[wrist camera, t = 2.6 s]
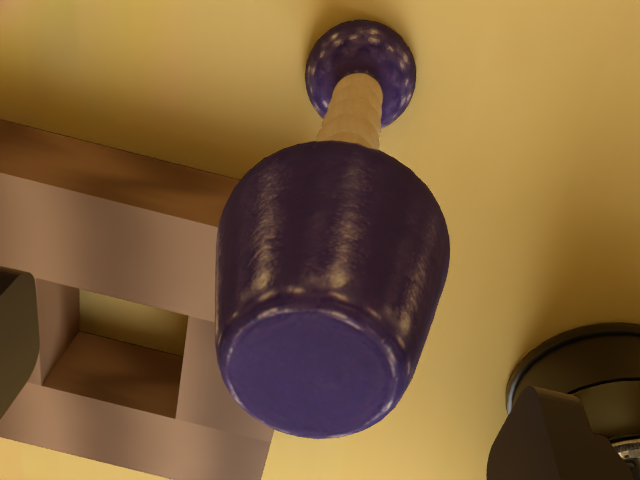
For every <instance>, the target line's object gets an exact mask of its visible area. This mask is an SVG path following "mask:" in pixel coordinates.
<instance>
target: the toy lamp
mask: <svg viewBox="0 0 640 480" xmlns="http://www.w3.org/2000/svg"><path fill="white" fill-rule="evenodd" d="M305 81H306V89H307V93H308V96H309V98H310V101H311V103H312V105H313V107H314V108H315V110H316V111H317V112H318V114H319V115H320V116H321V117H322V118H323V123H322V128H321V130H320V131H319V134H318V136H317V140H316V141H312V142H308V143H303V144H297V145H294V146H291V147H288V148H284V149H282V150H280V151H278V152H276V153H274V154H272V155H270V156H269V157H265V158H264V159H263V160H261V161H260V162H259V163H258V164H257V165H255V166H254V167H253V168H252V169H250V170H249V171H248V172H247V173H246V174H245V175H244V176H243V178H242V179H241V180H240V181H239V182H238V184H237V185H236V186H235V187H234V189H233V191H232V193H231V195H230V197H229V198H228V200H227V202H226V204H225V207H224V209H223V212H222V215H221V218H220V221H219V226H218V232H217V242H216V268H215V348H216V354H217V364H218V367H219V370H220V374H221V377H222V379H223V382H224V384H225V385H226V387H227V389H228V391H229V392H230V394H231V395H232V397H233V398H234V399H235V400H236V402H237V403H238V404H239V405H240V406H241V407H242V408H243V409H244V410H245V411H246V412H247V413H248V414H250V415H251V416H252V417H254V418H255V419H257V420H258V421H260V422H262V423H263V424H265V425H267V426H269V427H270V428H272V429H275V430H277V431H280V432H283V433H286V434H290V435H294V436H298V437H305V438H313V439H325V438H339V437H343V436H347V435H350V434H353V433H357V432H360V431H362V430H365V429H367V428H369V427H371V426H372V425H374V424H376V423H378V422H379V421H381V420H382V419H383V418H384V417H385V416H386V415H387V414H388V413H389V412H390V411H392V410H393V409H394V408H395V406H396V405H397V404H398V402H399V401H400V399H401V398H402V396H403V394H404V392H405V391H406V389H407V387H408V385H409V383H410V382H411V380H412V378H413V375H414V372H415V369H416V367H417V364H418V361H419V358H420V355H421V353H422V350H423V347H424V344H425V342H426V339H427V336H428V333H429V330H430V326H431V324H432V321H433V319H434V315H435V311H436V308H437V305H438V302H439V299H440V296H441V294H442V291H443V288H444V285H445V281H446V277H447V273H448V268H449V260H450V241H449V234H448V230H447V225H446V222H445V218H444V216H443V213H442V211H441V209H440V206H439V204H438V203H437V201H436V199H435V197H434V196H433V194H432V192H431V191H430V190H429V188H428V186H427V185H426V184H425V183H423V182H422V180H421V179H420V178H418V177H417V176H416V175H415V174H414V172H413V171H412V170H411V169H409V168H408V167H406V166H405V165H403V164H402V163H400V162H399V161H398V160H396V159H395V158H393V157H391V156H389V155H387V154H385V153H384V152H382V151H380V150H379V136H380V132H381V129H382V128H384V127H386V126H387V125H389V124H390V123H392V122H393V121H394V120H396V119H397V118H398V117H399V116H400V115H401V114H402V113H403V112H404V110H405V109H406V107H407V106H408V104H409V102H410V100H411V98H412V95H413V92H414V89H415V82H416V66H415V62H414V59H413V55H412V53H411V52H410V49H409V47H408V46H407V45H406V43H405V42H404V41H403V39H402V38H401V36H400V35H398V34H397V33H396V32H395V31H393V30H392V29H390V28H389V27H387V26H385V25H383V24H380V23H377V22H371V21H368V20H354V21H348V22H345V23H341V24H340V25H338V26H335V27H333V28H332V29H330V30H329V31H328V32H326V33H325V34H324V35H323V36H322V37H321V38H320V39H319V40H318V41H317V43H316V44H315V45H314V47H313V49H312V51H311V53H310V55H309V58H308V61H307V65H306V73H305Z"/></svg>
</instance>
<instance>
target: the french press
mask: <svg viewBox="0 0 640 480" xmlns="http://www.w3.org/2000/svg"><path fill="white" fill-rule="evenodd" d="M618 381H640V325H635V324H626V323H610V324H597V325H592V326H586V327H580V328H577V329H574V330H571V331H568V332H565V333H562V334H560V335H558V336H556V337H554V338H552V339H550V340H548V341H546V342H544V343H542V344H541V345H540V346H538V347H537V348H535V349H534V350H533V351H531V352H530V353H529V354H528V355H527V356H526V357H525V358H524V359H523V360H522V361H521V362H520V363H519V364H518V366H517V367H516V369H515V371H514V372H513V374H512V376H511V377H510V380H509V383H508V387H507V390H506V410H507V413H508V415H509V413H510V411H511V410H512V408H513V406H514V404H515V402H516V400H517V399H518V397H519V395H520V393H521V392H522V390H523V389H524V388H525V387H527V386H534V387H538V388H543V389H547V390H552V391H556V392H561V393H565V394H570V395H571V394H573V393H575V392H578V391H580V390H583V389H586V388H590V387H593V386H596V385H600V384H605V383H612V382H618ZM608 440H609V442H610V443H611V444H612V446H613V447H614V448H615V449H616V451H617V452H618V453H619V455H620V456H621V457H622V459H623V460H624V461H625V463H626V464H627V465H628V466H629V468H630V471H631V473H632V476H633V478H634V480H640V433H638V434H631V435H623V436H617V437H613V438H609V439H608Z"/></svg>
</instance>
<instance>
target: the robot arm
mask: <svg viewBox="0 0 640 480" xmlns="http://www.w3.org/2000/svg"><path fill="white" fill-rule="evenodd" d="M39 348H40V337H39V324H38V311H37V297H36V284H35V279H34V277H33V275H32V274H31V273H29V272H25V271H21V270H17V269H12V268H8V267H3V266H0V420H1V418H2V417H3V415H4V414H5V412H6V411H7V410H8V408H9V407H10V405H11V404H12V403H13V401H14V400H15V398H16V397H17V396H18V394H19V393H20V391H21V390H22V388H23V387H24V386H25V384H26V383H27V381H28V380H29V378H30V376H31V374H32V372H33V370H34V368H35V365H36V362H37V359H38V355H39ZM487 480H634V478H633V476H632V473H631V471H630V468H629V466H628V465H627V464H626V463H625V461H624V460H623V459H622V457H621V456H620V455H619V453H618V452H617V451H616V449H615V448H614V447H613V446H612V444H611V443H610V442H609V440H608V439H607V438H606V436H601V435H597V434H592V431H591V428H590V425H589V423H588V420H587V417H586V414H585V411H584V408H583V405H582V403H581V401H580V400H579V398H578V397H576V396H574V395H570V394H565V393H561V392H556V391H552V390H547V389H543V388H538V387H534V386H527V387H525V388H524V389H523V390H522V392H521V393H520V395H519V397H518V399H517V400H516V402H515V404H514V406H513V408H512V410H511V411H510V413H509V415H508V417H507V419H506V421H505V423H504V424H503V426H502V428H501V430H500V432H499V434H498V435H497V437H496V439H495V441H494V443H493V445H492V447H491V450H490V453H489V458H488V463H487Z"/></svg>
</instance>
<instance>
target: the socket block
mask: <svg viewBox="0 0 640 480" xmlns="http://www.w3.org/2000/svg"><path fill="white" fill-rule="evenodd" d="M239 181H240V180H237V179H233V178H229V177H225V176H221V175H217V174H213V173H209V172H205V171H201V170H198V169H194V168H190V167H186V166H182V165H178V164H174V163H170V162H166V161H162V160H158V159H154V158H150V157H146V156H142V155H138V154H134V153H130V152H126V151H122V150H118V149H114V148H110V147H106V146H102V145H99V144H95V143H91V142H87V141H83V140H79V139H75V138H71V137H67V136H63V135H59V134H55V133H51V132H47V131H43V130H39V129H35V128H31V127H27V126H23V125H19V124H15V123H11V122H7V121H4V120H0V266H3V267H8V268H12V269H17V270H21V271H25V272H29V273H31V274H32V275H33V277H34V279H35V284H36V297H37V311H38V324H39V337H40V348H39V355H38V359H37V362H36V365H35V368H34V370H33V372H32V374H31V376H30V378H29V380H28V381H27V383H26V384H25V386H24V387H23V388H22V390H21V391H20V393H19V394H18V396H17V397H16V398H15V400H14V401H13V403H12V404H11V405H10V407H9V408H8V410H7V411H6V412H5V414H4V415H3V417H2V418H1V420H0V437H2V438H6V439H10V440H14V441H18V442H22V443H26V444H30V445H35V446H39V447H43V448H47V449H51V450H55V451H59V452H63V453H67V454H71V455H75V456H79V457H83V458H87V459H92V460H96V461H100V462H104V463H108V464H112V465H116V466H120V467H124V468H128V469H132V470H136V471H140V472H144V473H148V474H153V475H157V476H161V477H165V478H169V479H173V480H261V477H262V474H263V470H264V466H265V462H266V458H267V455H268V451H269V447H270V443H271V440H272V436H273V432H274V429H272V428H270V427H269V426H267V425H265V424H263V423H262V422H260V421H258V420H257V419H255V418H254V417H252V416H251V415H250V414H248V413H247V412H246V411H245V410H244V409H243V408H242V407H241V406H240V405H239V404H238V403H237V402H236V400H235V399H234V398H233V397H232V395H231V394H230V392H229V391H228V389H227V387H226V385H225V384H224V382H223V379H222V377H221V374H220V370H219V367H218V364H217V354H216V348H215V268H216V242H217V232H218V226H219V221H220V218H221V215H222V212H223V209H224V207H225V204H226V202H227V200H228V198H229V197H230V195H231V193H232V191H233V189H234V187H235V186H236V185H237V184H238V182H239ZM79 289H83V290H87V291H91V292H95V293H99V294H103V295H107V296H111V297H115V298H119V299H123V300H127V301H131V302H135V303H139V304H143V305H147V306H151V307H155V308H159V309H163V310H167V311H171V312H175V313H179V314H183V315H187V316H189V318H188V325H187V333H186V341H185V349H184V357H181V356H177V355H173V354H169V353H165V352H161V351H157V350H153V349H149V348H145V347H141V346H137V345H132V344H128V343H124V342H120V341H116V340H112V339H108V338H104V337H100V336H96V335H92V334H88V333H84V332H80V331H79Z"/></svg>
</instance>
